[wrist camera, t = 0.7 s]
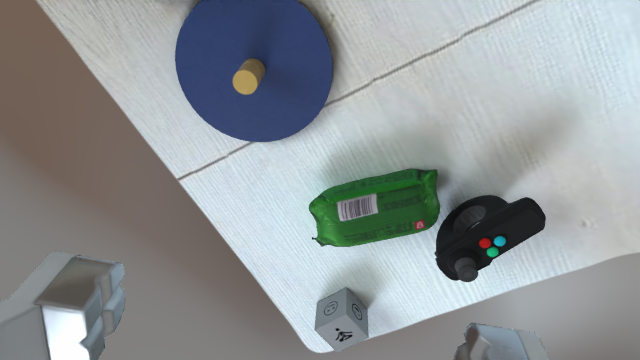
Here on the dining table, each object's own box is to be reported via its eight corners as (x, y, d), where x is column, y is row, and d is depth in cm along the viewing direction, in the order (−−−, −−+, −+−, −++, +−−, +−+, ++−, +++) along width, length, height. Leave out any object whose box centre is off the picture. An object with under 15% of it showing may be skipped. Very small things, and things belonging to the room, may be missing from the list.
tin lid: (187, -37, 45) (166, -32, 40) (351, 7, 46) (351, 17, 41) (172, 118, 53) (153, 138, 48) (312, 153, 54) (309, 176, 49)
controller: (421, 222, 57) (434, 275, 49) (510, 165, 53) (542, 212, 44) (441, 244, 59) (457, 299, 50) (529, 190, 55) (564, 240, 46)
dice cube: (338, 324, 66) (337, 352, 62) (317, 302, 65) (314, 330, 60) (367, 309, 65) (368, 337, 60) (346, 286, 63) (346, 313, 59)
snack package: (302, 185, 56) (297, 209, 51) (433, 156, 53) (440, 178, 49) (318, 232, 59) (316, 258, 55) (443, 207, 56) (451, 232, 52)
